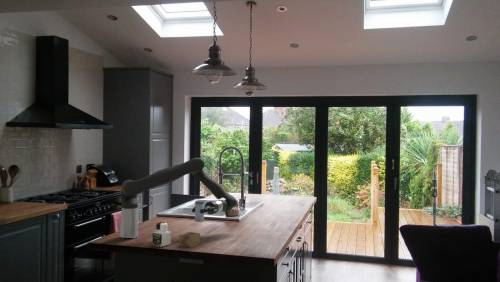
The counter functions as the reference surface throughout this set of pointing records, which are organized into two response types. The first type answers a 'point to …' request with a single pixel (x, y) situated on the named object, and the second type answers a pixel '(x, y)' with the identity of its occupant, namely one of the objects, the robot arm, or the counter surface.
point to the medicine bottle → (161, 235)
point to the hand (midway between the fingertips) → (196, 211)
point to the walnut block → (189, 239)
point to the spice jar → (199, 216)
